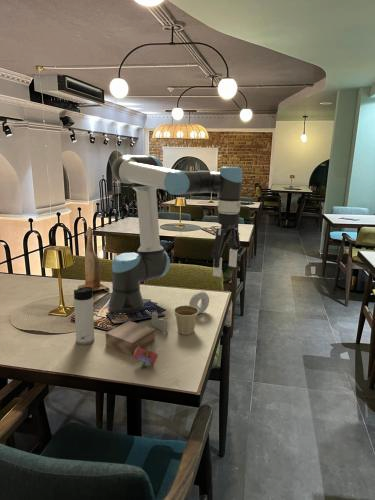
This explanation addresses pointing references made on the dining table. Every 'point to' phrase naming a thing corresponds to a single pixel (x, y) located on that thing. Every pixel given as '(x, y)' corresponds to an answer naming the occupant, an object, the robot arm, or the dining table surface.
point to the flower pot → (186, 318)
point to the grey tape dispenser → (159, 323)
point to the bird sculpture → (92, 266)
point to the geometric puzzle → (145, 355)
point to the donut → (204, 301)
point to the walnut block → (130, 337)
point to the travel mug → (84, 315)
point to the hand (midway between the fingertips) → (225, 271)
